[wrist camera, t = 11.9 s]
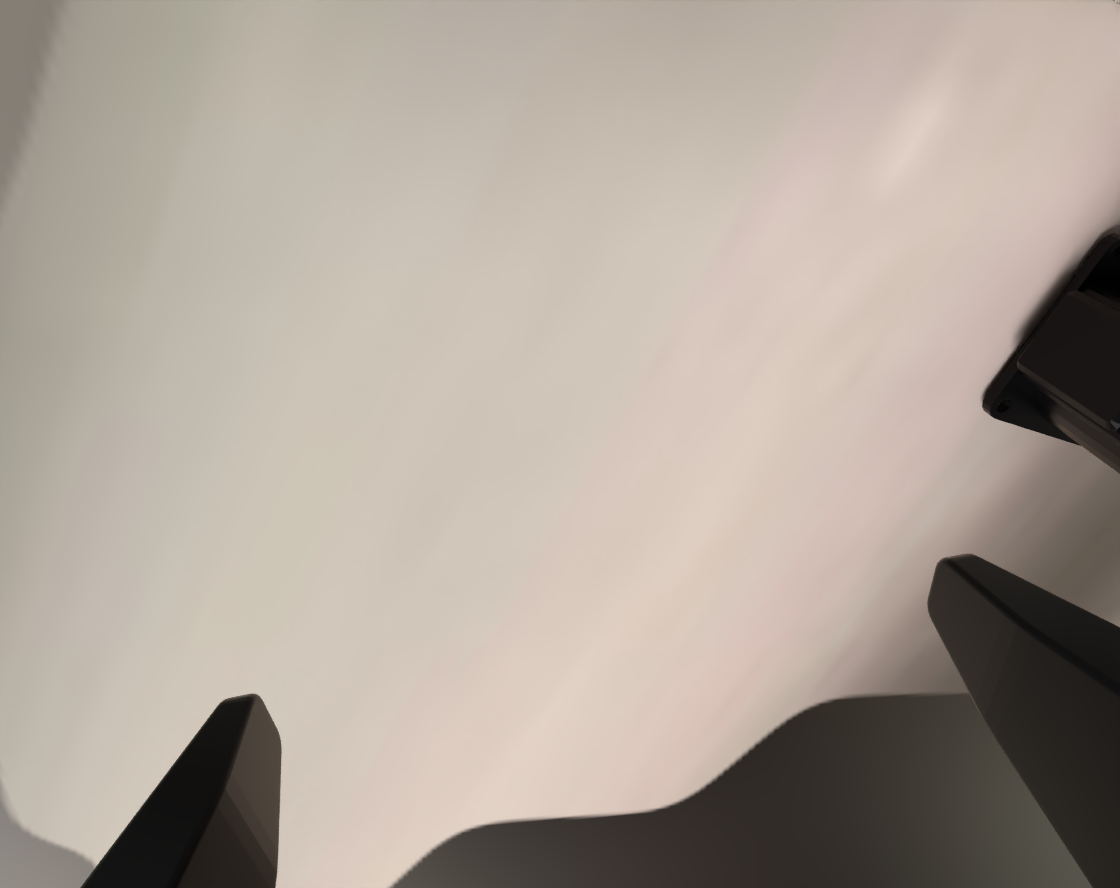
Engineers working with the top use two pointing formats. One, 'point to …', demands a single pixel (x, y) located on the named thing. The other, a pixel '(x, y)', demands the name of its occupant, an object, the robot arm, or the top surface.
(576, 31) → the top surface
